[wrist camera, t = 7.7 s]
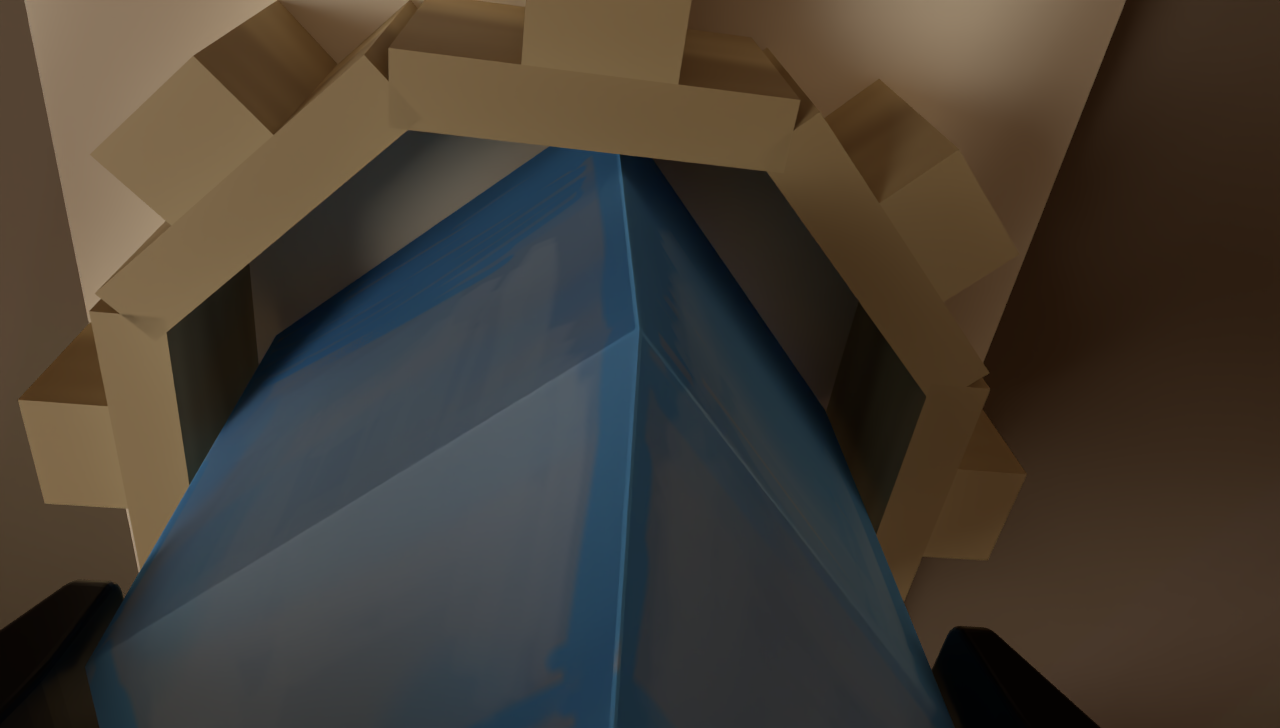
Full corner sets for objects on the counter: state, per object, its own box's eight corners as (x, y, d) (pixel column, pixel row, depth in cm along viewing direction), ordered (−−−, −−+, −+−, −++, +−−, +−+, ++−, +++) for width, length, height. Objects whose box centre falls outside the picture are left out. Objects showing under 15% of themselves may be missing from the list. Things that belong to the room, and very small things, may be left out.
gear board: (1103, -51, 13) (1299, 1, 9) (846, 640, 20) (903, 813, 16) (26, -219, 11) (-224, -230, 7) (173, 609, 18) (80, 795, 15)
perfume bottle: (526, 574, 17) (440, 1816, 6) (276, 335, 14) (-629, 1903, 3) (825, 410, 15) (1352, 1703, 5) (613, 101, 12) (798, 1693, 2)
